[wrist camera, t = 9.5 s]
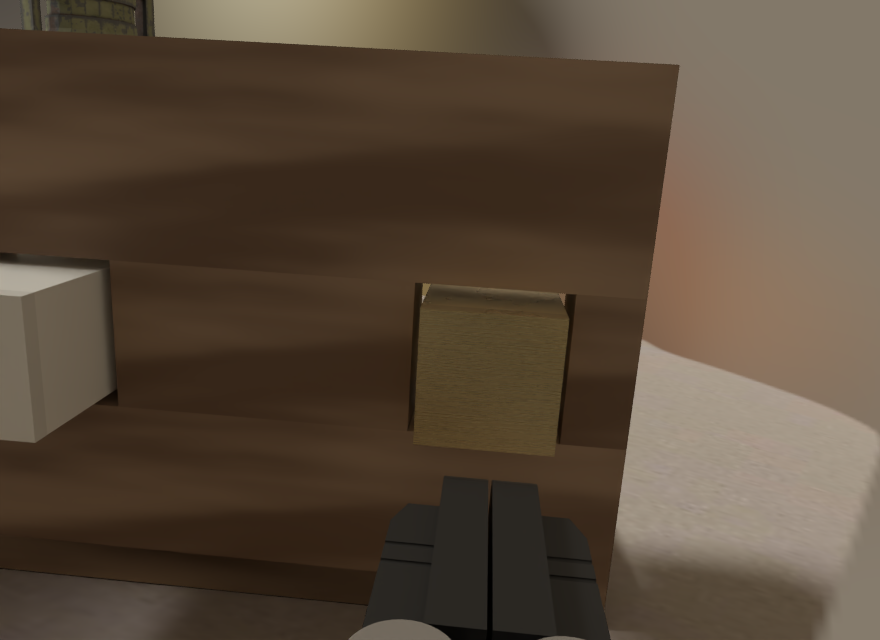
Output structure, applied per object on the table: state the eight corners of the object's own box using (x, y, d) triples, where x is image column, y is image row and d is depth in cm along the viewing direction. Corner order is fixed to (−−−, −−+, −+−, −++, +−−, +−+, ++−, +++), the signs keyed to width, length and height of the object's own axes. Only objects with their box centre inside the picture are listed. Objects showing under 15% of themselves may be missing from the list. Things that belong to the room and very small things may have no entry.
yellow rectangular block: (554, 456, 22) (569, 319, 21) (413, 444, 23) (420, 308, 22) (539, 378, 30) (550, 273, 29) (432, 370, 30) (439, 265, 29)
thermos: (187, 292, 74) (174, -75, 65) (87, 314, 63) (55, -119, 54) (129, 280, 77) (109, -68, 68) (25, 299, 67) (-14, -108, 58)
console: (601, 628, 26) (679, 64, 21) (-59, 562, 28) (-135, 21, 23) (578, 522, 33) (632, 84, 28) (56, 474, 35) (18, 49, 30)
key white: (35, 443, 21) (21, 296, 20) (-108, 429, 22) (-130, 284, 20) (152, 365, 29) (147, 254, 27) (45, 356, 29) (35, 246, 28)
